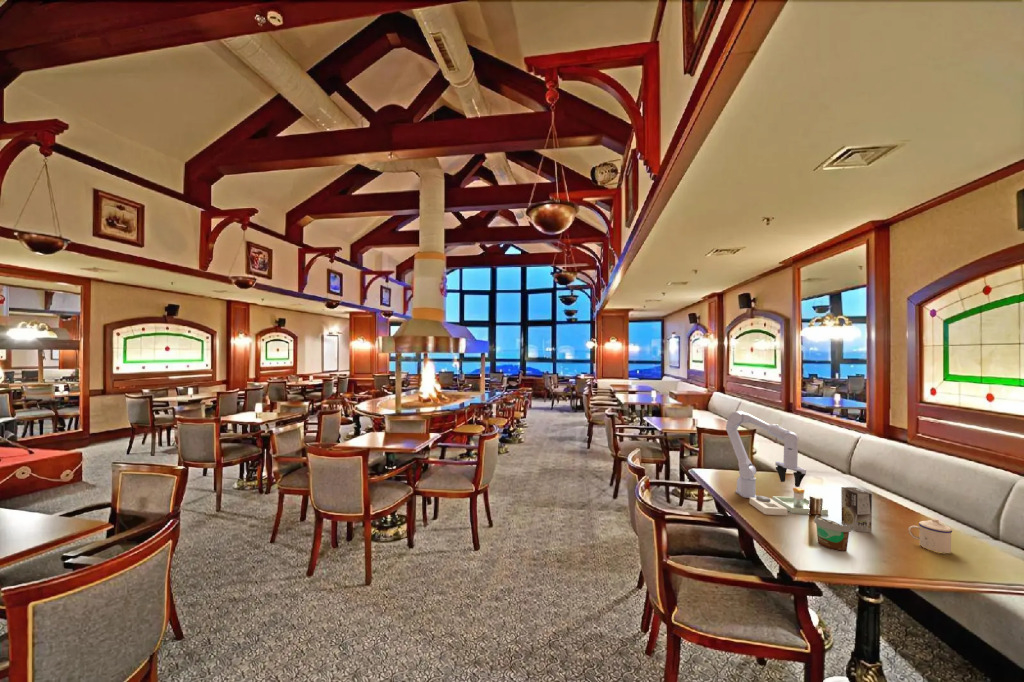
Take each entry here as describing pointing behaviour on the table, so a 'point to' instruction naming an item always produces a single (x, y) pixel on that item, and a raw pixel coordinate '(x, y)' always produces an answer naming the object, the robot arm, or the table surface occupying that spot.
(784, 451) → the robot arm
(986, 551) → the table surface
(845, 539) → the food container
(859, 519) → the coffee box
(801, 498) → the jar
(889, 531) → the table surface
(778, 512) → the plate
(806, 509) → the tray
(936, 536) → the teacup with lid
